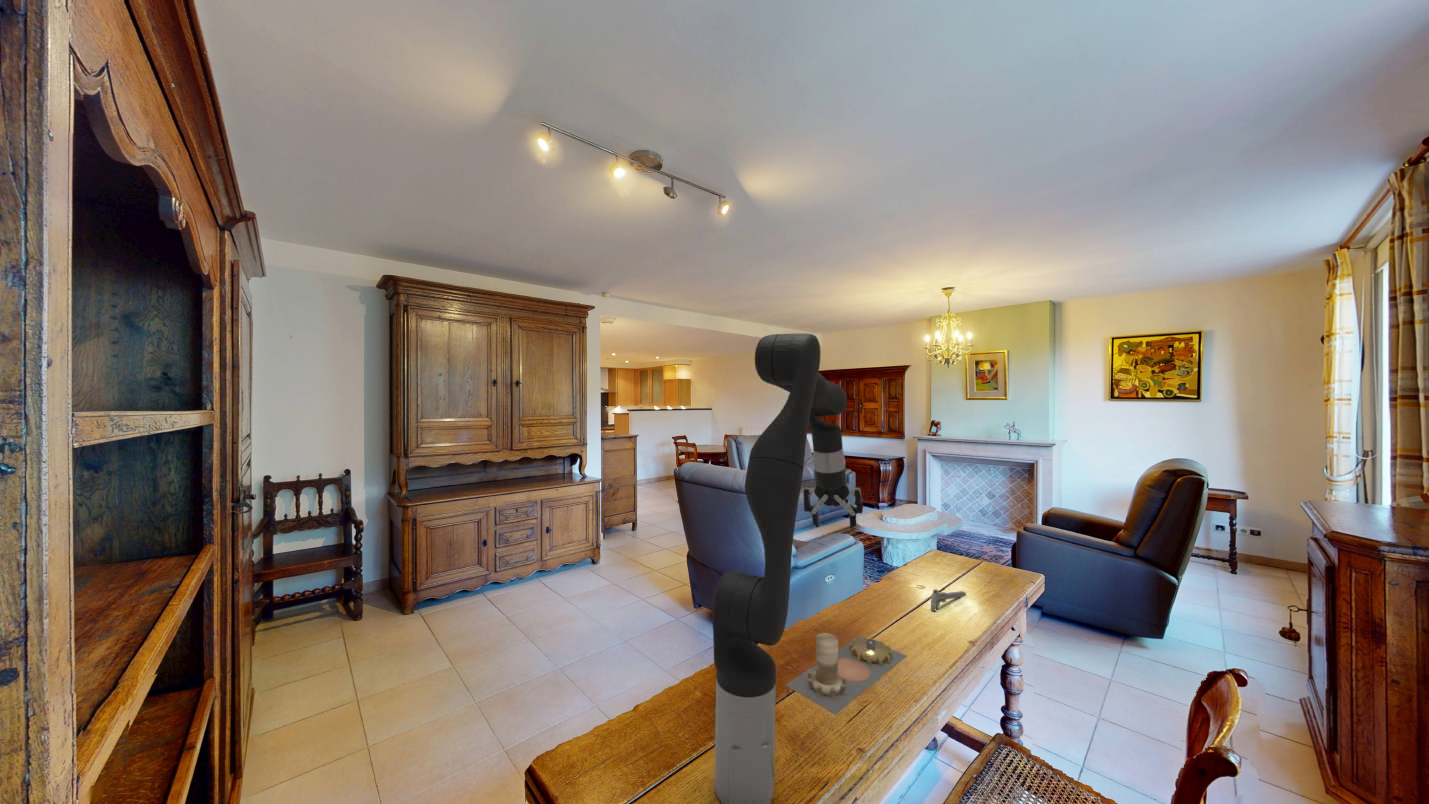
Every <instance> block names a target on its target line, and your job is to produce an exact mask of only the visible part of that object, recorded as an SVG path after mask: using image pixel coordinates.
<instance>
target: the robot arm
mask: <svg viewBox="0 0 1429 804" xmlns="http://www.w3.org/2000/svg"><path fill="white" fill-rule="evenodd" d="M820 345H821V343H820V342H819V339H818V337H817V336H816V335H814V334H813V333H806V332H805V333H778V334H777V333H773V334H769V335H764V336H763V337H761V339H759V340H758V341H757V344H756V347H755V352H754V366H755V370H756V373H757V375H758V378H760V379H761V381H762V382H764V383H765V384H766V383H767V384H769V385H772V386H775V387H777V388H780V389H782V390H784V391H787V392H788V393H789V395H788V397H787V400H786V402H785V404H784V405H783V407H782V409H781V410H780V412H779V413H778V414H777V415H776V417H775V418H774V419H773V420H772V421H771V423H769V425H768V426H767V427H766V428H765V429H764V430H763V432H762V433H761V434H760V436H759V437H758V438H757V439H756V441H755V443H754V444H753V446H752V447H751V450H750V451H749V457H748V461H747V467H746V475H745V481H744V492H745V497H746V501H747V503H748V507H749V509H750V512H751V513H752V516H753V518H754V521H755V523H756V525H757V529H758V530H759V533H760V537H761V541H762V544H763V549H764V550H763V551H764V575H763V576H758V575H753V574H749V573H745V572H741V571H740V572H739V571H733V570H732V571H727V572H726V573H724V574H723V575H722V576H721V577H720V578H719V579H718V581H717V584H716V587H715V590H714V594H713V600H712V611H711V612H712V637H713V638H712V639H713V640H712V641H713V642H712V643H713V663H714V667H715V671H716V673H715V674H716V676H715V677H716V681H715V682H716V685H715V688H716V689H715V730H714V731H715V732H714V733H715V734H714V735H715V738H714V739H715V740H714V746H715V747H714V791H715V794H716V796H717V798H718V800H719V801H720V802H721V804H771V803H772V802H771V801H772V799H773V798H774V797H773V796H774V792H775V791H774V789H775V787H774V786H775V784H774V783H775V734H776V733H775V732H776V728H775V726H776V693H777V692H776V688H777V687H776V686H777V685H776V683H777V669H776V667H777V666H776V663H775V660H774V659H773V657H772V655H770V654H769V653H768V652H767V651H766V650H764V649H763V648H762V647H761V646H759V645H758V644H761V645H764V646H768V647H769V646H770V647H772V646H775V645H777V644H778V643H779V642H780V641H781V638H782V637H783V634H784V632H785V627H786V623H787V619H788V612H789V611H788V610H789V603H790V601H789V600H790V588H791V587H790V586H791V573H792V572H791V571H792V555H793V543H794V534H795V526H796V521H797V514H798V506H799V501H800V495H801V489H802V483H803V474H804V465H805V456H806V455H805V454H806V448H807V445H806V444H807V439H808V438H807V436H808V429H810V433H811V438H812V439H811V441H812V449H813V450H812V451H813V455H812V456H813V457H812V458H813V459H812V460H813V471H814V480H815V487H814V488H813V487H810V486H808V485H807V486H805V487H804V489H803V509H804V511H805V512H809V513H811V516H812V517H811V518H812V524H813V526H815V528H820V523H821V522H820V513H819V510H820V509H821V508H822V506H823V505H824V506H826V507H831V506H834V507H840V506H841V507H842V508H843V509H844V510H846V511H847V513H848V514H849V516H848V517H849V518H848V519H849V528H850V530H854V528H856V526H857V515H858V514H863V511H864V510H863V509H864V505H863V497H862V491H861V487H859V486H856V487H855V488H849V487H848V484H847V471H846V459H845V454H844V448H843V447H844V446H843V437H842V429H841V427H840V426H839V425H838V424H835V423H832V422H828V421H824V420H823V419H822V418H821V417H831V416H834V417H835V416H839V415H841V414H843V413H844V412H845V410H846V409H847V405H848V398H847V394H846V393H845V391H844V389H843V388H842V387H841V386H840V385H839V384H837V383H834V382H831V381H830V380H829V381H828V380H826V378H825V377H824V376H823V375H822V374H821V372H819V371H820V366H821V346H820ZM813 494H815V496H816V497H817V498H818V499H817V501H816V502H815V504H814V505H811V497H813ZM849 495H851V497H852V498H854V499H855V502H856V503H855V504H856V506H855V505H854V504H852V503H851V500H850V499H849V498H848V496H849Z"/></svg>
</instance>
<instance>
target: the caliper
mask: <svg viewBox="0 0 1429 804" xmlns="http://www.w3.org/2000/svg"><path fill="white" fill-rule="evenodd" d="M966 594H967V593H966V592H965V591H963V590H959V591H951V592H944V591H941V592H940V590H939V589H937V588H936V589H933V592H932V593H931V598H930V599H931V600H930V611H932V612H933V613H936V610H938V611H939V609H940V604H941V603H946V600H951V599H956V598H957V599H959V598H963V597H965V596H966ZM935 609H936V610H935Z"/></svg>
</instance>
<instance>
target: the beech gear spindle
mask: <svg viewBox="0 0 1429 804" xmlns="http://www.w3.org/2000/svg"><path fill="white" fill-rule="evenodd" d="M815 645H816V646H815V647H816V648H815V655H816V656H815V665H816V671H814V672H811V671H810V672H809V673H808V688H809V689H813V690H814V691H815V692H816V693H817V696H820V697H821V695H824V696H830V697H831V698H832V699H836V696H837V695H839V694H843V695H844V694H845V687H846V685H845V678H844V676H842V677H840V676H839V675H838V650H839V637H837V636H836V635H835V634H832V633H828V632H827V633H826V632H822V633H818V634H817V635H816V641H815Z"/></svg>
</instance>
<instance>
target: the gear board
mask: <svg viewBox="0 0 1429 804" xmlns="http://www.w3.org/2000/svg"><path fill="white" fill-rule="evenodd" d="M860 637H863V636H861V635H859V636H857V637H856V638H855V639H857V640H858V639H860ZM864 638H865V639H867V638H866V637H864ZM850 642H851V643H853V640H852V641H850ZM850 642H849V643H847V644H846V645H844V646H843V647H841V648H840V649H839V648H838V675H839V676H840V677H842V676H844V678H845V685H846V687H845V694H844V695H843V694H839V695H837V696H836V699H832V698H831V697H830V696H824V695H821V697H820V696H817V693H816V692H815V691H814V690H813V689H809V688H808V673H809V672H810V671H811V672H814V671H816V664H815V665H814V666H812V667H810V668H809V669H807V670H806V671H804V672H803V673H801V674H800V675H798V676H797V677H795V678H793V679H792V680H790V681H789V682H787V683H785V686H786V687H787V688H789V689H790V690H792V691H794V692H796V693H798V694H800V695H801V696H802V697H805V698H806V699H808V700H810V701H812V702H813V703H815V704H817V705H818V706H820V707H821V708H824V709H825V710H827V711H828V712H830V713H832V714H834V715H837V714H838V713H839V712H841V711H842V710H843V709H844V708H846V706H847V707H848V705H849V704H850V703H852V702H853V701H854V700H855V699H857V698H858V697H859V696H861V694H863V693H864V692H865V691H867V689H869V688H870V687H871V686H872V685H874V684H875V683H876V682H877V681H879V680H880V679H881V678H883V676H885V675H886V674H887V673H889V672H890V671H891V670H892V669H893V668H895V667H896V666H897V665H898V664H899V663H901V662H902V661H903V660H905V658H907V657H908V655H906V654H903V653H902V652H899V651H897V650H895V649H892V648H891V651H892V660H891V659H890V663H889V664H887V663H883V664H882V666H879V665H878V664H871V665H868V664H867V662H864V661H861V662H859V661H858V660H857V657H855V656H852V655H851V651H850Z"/></svg>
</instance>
